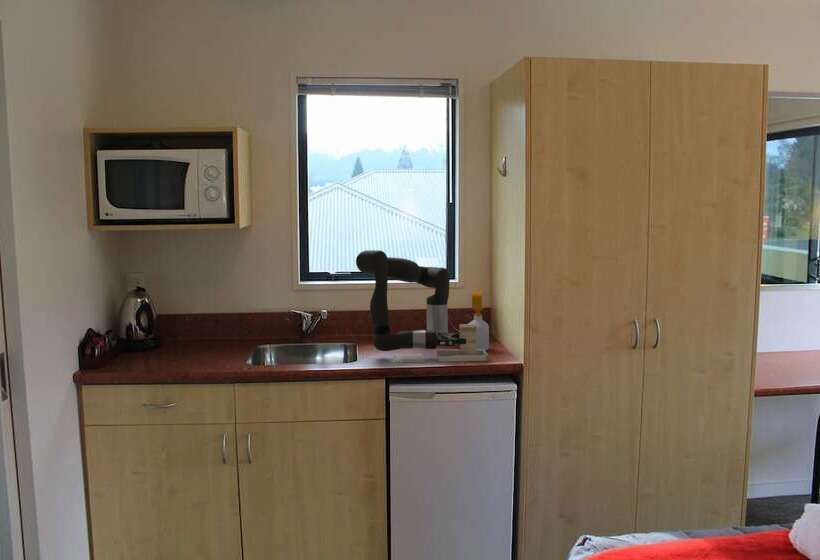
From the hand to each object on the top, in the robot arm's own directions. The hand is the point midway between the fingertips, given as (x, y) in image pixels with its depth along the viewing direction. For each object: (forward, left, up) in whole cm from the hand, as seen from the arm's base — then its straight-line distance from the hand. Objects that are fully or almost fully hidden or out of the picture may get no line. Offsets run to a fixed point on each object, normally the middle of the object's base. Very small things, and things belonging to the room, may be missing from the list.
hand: (465, 338), depth 254 cm
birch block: (0, +1, -8) cm, 8 cm away
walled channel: (0, -1, -8) cm, 8 cm away
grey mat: (0, -22, -8) cm, 23 cm away
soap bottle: (-14, +7, -8) cm, 18 cm away
